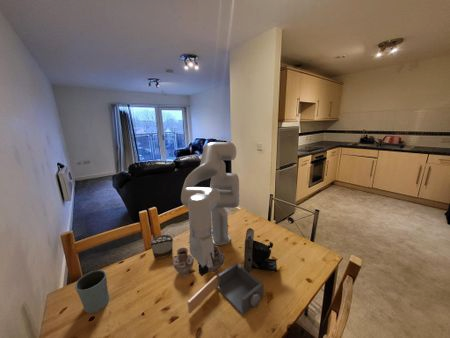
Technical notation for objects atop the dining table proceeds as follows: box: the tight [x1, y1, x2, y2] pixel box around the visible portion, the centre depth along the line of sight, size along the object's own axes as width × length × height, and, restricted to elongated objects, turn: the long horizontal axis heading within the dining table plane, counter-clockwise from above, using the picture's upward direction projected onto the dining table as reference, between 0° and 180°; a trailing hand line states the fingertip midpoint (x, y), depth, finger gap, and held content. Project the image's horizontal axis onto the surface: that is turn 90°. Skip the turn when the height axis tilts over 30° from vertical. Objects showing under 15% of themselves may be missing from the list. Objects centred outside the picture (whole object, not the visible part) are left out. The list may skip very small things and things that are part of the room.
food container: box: [149, 234, 175, 260], centre depth 106 cm, size 12×6×10 cm, turn 108°
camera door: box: [187, 275, 219, 314], centre depth 78 cm, size 16×2×5 cm, turn 141°
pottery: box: [172, 245, 226, 277], centre depth 93 cm, size 11×25×12 cm, turn 99°
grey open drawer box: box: [216, 262, 264, 316], centre depth 80 cm, size 18×12×7 cm
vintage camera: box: [243, 227, 278, 274], centre depth 92 cm, size 10×16×20 cm, turn 78°
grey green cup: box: [74, 269, 110, 314], centre depth 77 cm, size 10×10×12 cm
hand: (203, 273), depth 71 cm, fingers closed
